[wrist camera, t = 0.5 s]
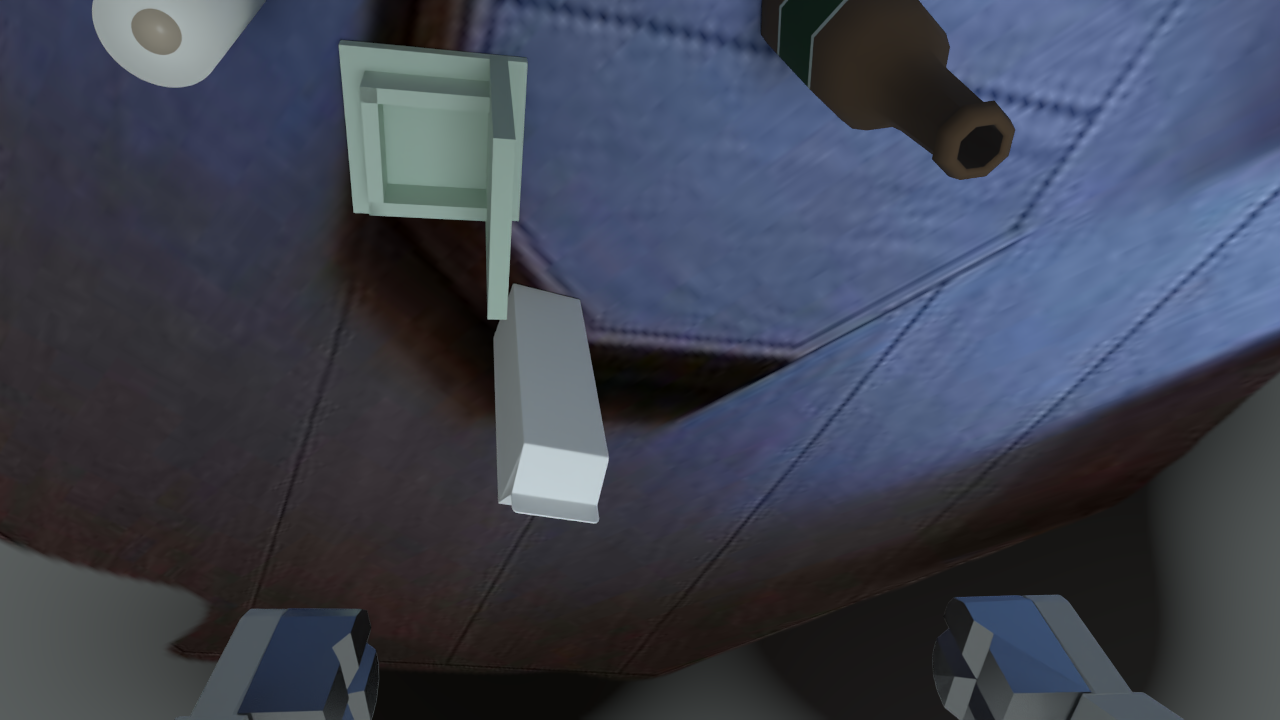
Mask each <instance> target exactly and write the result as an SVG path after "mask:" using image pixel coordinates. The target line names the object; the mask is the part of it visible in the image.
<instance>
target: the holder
mask: <svg viewBox="0 0 1280 720" xmlns="http://www.w3.org/2000/svg"><path fill="white" fill-rule="evenodd" d="M339 54H340V65H341V76H342V88H343V99H344V110H345V121H346V132H347V143H348V154H349V165H350V177H351V188H352V199H353V210H354V213H369V214H370V215H375V216H395V217H415V218H435V219H455V220H475V221H486V266H487V315H488V319H499V320H507V306H508V285H509V265H510V245H511V225H512V221H519V207H520V189H521V171H522V153H523V135H524V117H525V99H526V82H527V64H528V62H527V58H523V57H513V56H503V55H492V54H482V53H472V52H461V51H451V50H441V49H430V48H420V47H410V46H399V45H389V44H379V43H368V42H358V41H348V40H340V43H339Z"/></svg>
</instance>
